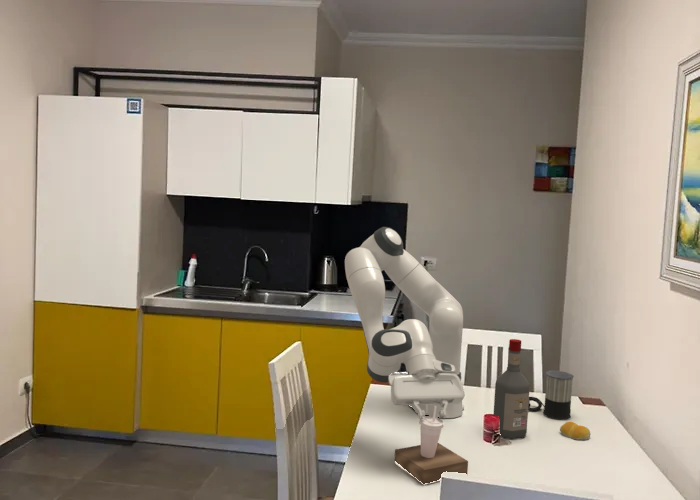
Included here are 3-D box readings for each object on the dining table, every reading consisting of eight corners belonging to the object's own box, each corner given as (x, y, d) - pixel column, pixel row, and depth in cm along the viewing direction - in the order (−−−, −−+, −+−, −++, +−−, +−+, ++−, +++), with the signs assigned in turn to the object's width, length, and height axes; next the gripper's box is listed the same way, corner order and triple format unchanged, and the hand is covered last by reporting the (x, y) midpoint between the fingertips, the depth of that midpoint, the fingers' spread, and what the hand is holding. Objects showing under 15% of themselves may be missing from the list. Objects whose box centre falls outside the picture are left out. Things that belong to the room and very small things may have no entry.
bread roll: (582, 443, 192) (583, 430, 192) (556, 434, 199) (557, 422, 199) (595, 437, 198) (596, 425, 197) (569, 428, 205) (570, 417, 204)
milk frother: (574, 421, 211) (577, 378, 210) (527, 418, 212) (530, 376, 211) (561, 407, 226) (564, 367, 224) (518, 405, 226) (520, 365, 225)
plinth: (394, 463, 171) (395, 449, 171) (436, 455, 178) (436, 442, 177) (423, 485, 159) (424, 469, 158) (467, 475, 165) (468, 461, 165)
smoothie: (432, 463, 163) (438, 412, 161) (411, 454, 167) (417, 405, 165) (443, 454, 168) (449, 405, 166) (422, 446, 172) (428, 398, 170)
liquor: (530, 437, 195) (536, 343, 192) (506, 440, 191) (512, 344, 189) (512, 427, 203) (518, 336, 201) (488, 430, 200) (494, 337, 197)
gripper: (389, 366, 170) (398, 413, 161) (459, 365, 174) (472, 411, 166) (384, 378, 175) (392, 424, 166) (453, 376, 179) (464, 421, 170)
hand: (432, 417), depth 166 cm, fingers closed on smoothie, 4 cm apart
